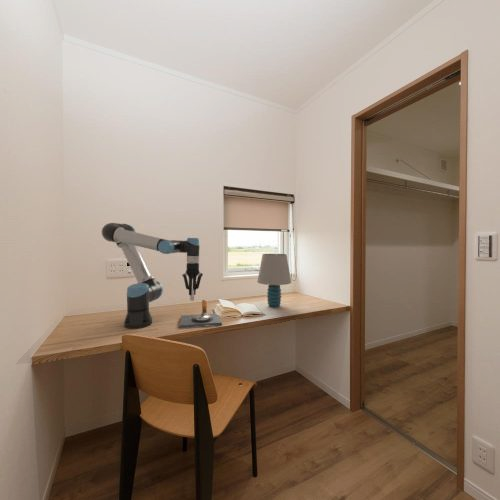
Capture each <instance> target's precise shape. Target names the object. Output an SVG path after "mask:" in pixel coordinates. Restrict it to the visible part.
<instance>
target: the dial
mask: <svg viewBox="0 0 500 500" xmlns="http://www.w3.org/2000/svg"><path fill="white" fill-rule="evenodd" d="M207 301H208V300H207V299H202V300H201V313H199V314H194V315H195V316H194V320H195V321H208V320H210V319H211V316H210V315H209V314H210V313H207V311H208V309H207V308H208V306H207V305H208V304H207Z"/></svg>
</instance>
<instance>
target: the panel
mask: <svg viewBox="0 0 500 500" xmlns="http://www.w3.org/2000/svg"><path fill="white" fill-rule="evenodd" d="M208 314H209V315H210V316H211V319H210V320H208V321H195V320H194V316H195V315H196V314H186V315H185V314H184V315H183V314H182V315H180V321H179V325H178V326H179V329H185V328H187V327H188V328H197V327H196V326H202V327H206V326H205V325H216V326H222V325H223V321H222V319H221V318H222V317H221V315H220V314H219V315H220V316H219V315H217V314H216V312H215V313H208Z"/></svg>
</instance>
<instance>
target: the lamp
mask: <svg viewBox="0 0 500 500" xmlns="http://www.w3.org/2000/svg"><path fill="white" fill-rule="evenodd" d="M289 267H290V266H289V261H288V256H287V254H286V253H263V254H262V256H261V259H260V266H259V271H258V276H257V283H258V284H261V285H267V293H266V294H267V296H266V297H267V304H268V307H269V308H280V306H281V302H282V292H281V291H282V288H281V286H285V285H289V284H292V278H291V273H290V268H289Z"/></svg>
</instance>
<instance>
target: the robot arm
mask: <svg viewBox="0 0 500 500" xmlns="http://www.w3.org/2000/svg"><path fill="white" fill-rule="evenodd" d="M101 236H102V238H103V239H104V240H106V241H108V242H111V243H115V244H116V246H117V248H119V249H121V250H122V252H123V254H124V256H125V258H126V260H127V262H128V264H129V267H130V269H131V270H132V273H133V275H134V276H135V279H136V281H137V282H136V283H133V284H131V285H129V286H128V287H127V289H126V305H127V306H126V308H127V309H126V310H127V312H126V315H125V317H124V318H125V319H124V321H123V322H124V323H123V326H124V328H127V329H141V328H146V327H148V326H150V325H151V324H153V318H152V315H151V312H150V303H152V302H153V301H156V300H158V299H159V298H160V297H161V296H162V295H163V293H164V291H163V290H164V288H163V285H162V284H161V282H159V281H157V280H156V278H155V276H152V275H151V273H150V271H149V270H148V267H147V265H146V263H145V261H144V259H143V257H142V255H141V253H140V250H139V249H138V247H140V248H144V249H149V250H153V251H156V252H159V253H160V254H163V255H170V254H177V253H182V254H186V262H187V263H186V271H185V272H184V273H182V275H181V276H182V277H183V281H184V285H185V286H184V287H185V289H186V290H188V295H189V301H191V302H193V301H195V296H196V291H197V289H200V283H201V280H202V277H203V273H202V272H200V270H199V269H200V245H201V244H200V238H198V237H187V238H186V240H176V239H173V240H168V239H164V238H161V237H155V236H152V235H149V234H144V233H139V232H137V231H136V229H135V227H133V226H132V225H131V224H127V223H118V222H117V223H116V222H109V223H107V224H105V225H104V226H103V227H102V229H101Z"/></svg>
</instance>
